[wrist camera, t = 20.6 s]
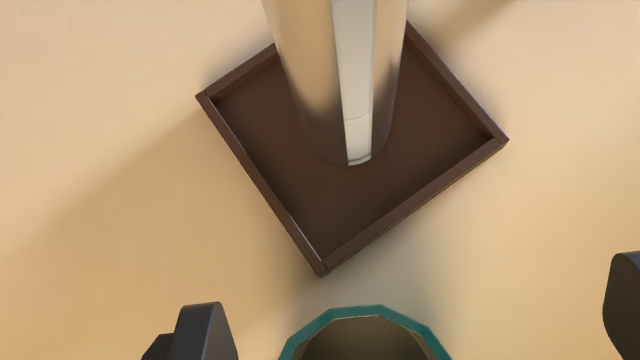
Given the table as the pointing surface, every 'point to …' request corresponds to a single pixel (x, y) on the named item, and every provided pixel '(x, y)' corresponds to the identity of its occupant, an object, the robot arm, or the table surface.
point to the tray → (360, 180)
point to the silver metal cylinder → (341, 70)
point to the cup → (420, 332)
